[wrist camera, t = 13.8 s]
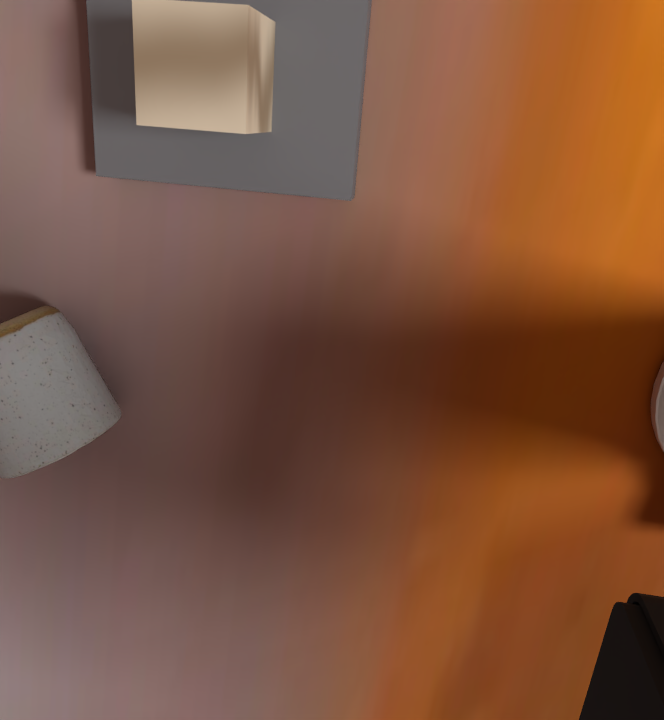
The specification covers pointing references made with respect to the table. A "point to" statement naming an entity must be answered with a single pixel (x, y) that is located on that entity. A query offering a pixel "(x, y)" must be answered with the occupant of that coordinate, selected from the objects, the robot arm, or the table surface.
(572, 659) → the table surface
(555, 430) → the table surface
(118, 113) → the serving board
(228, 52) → the beech cube
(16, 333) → the ceramic mug
